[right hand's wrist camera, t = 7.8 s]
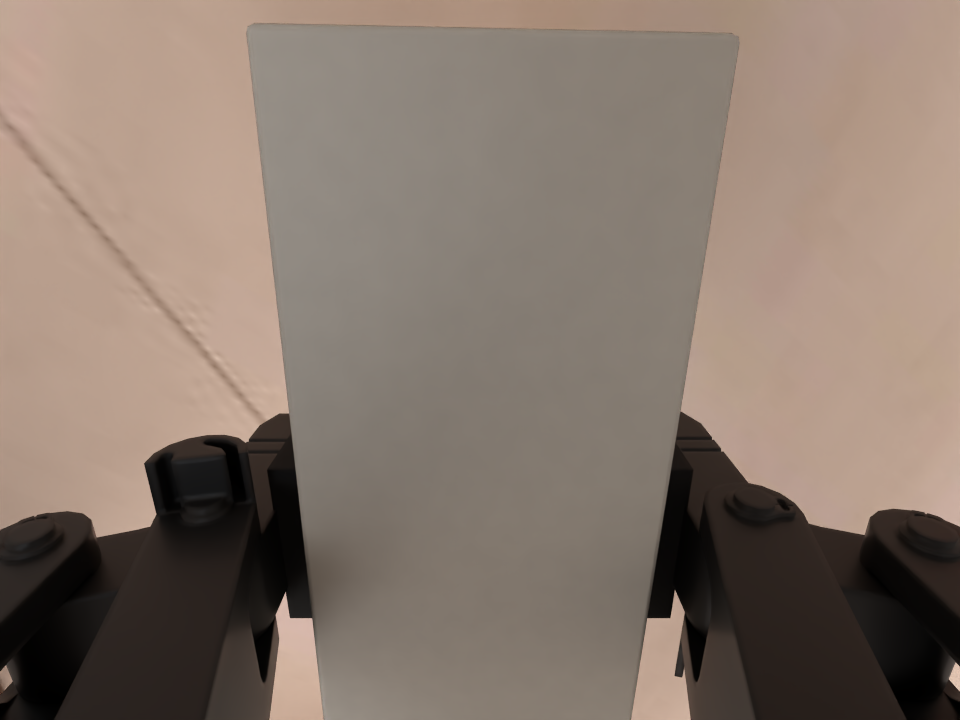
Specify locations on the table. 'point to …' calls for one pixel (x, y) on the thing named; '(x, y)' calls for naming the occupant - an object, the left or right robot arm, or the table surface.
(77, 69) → the table surface
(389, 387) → the beam
